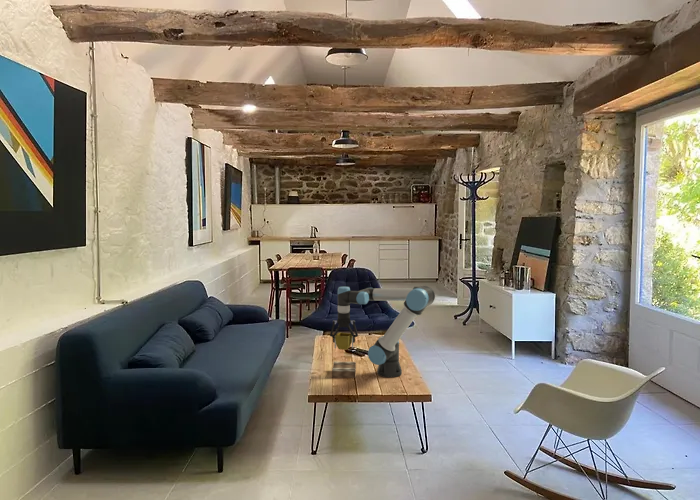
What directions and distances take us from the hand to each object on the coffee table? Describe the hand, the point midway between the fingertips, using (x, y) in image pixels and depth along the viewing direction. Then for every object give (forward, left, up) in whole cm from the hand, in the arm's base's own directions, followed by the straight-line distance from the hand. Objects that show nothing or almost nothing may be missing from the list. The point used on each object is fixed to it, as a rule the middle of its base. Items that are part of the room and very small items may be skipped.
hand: (343, 347), depth 300 cm
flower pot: (0, 0, -1) cm, 1 cm away
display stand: (0, 0, -16) cm, 16 cm away
